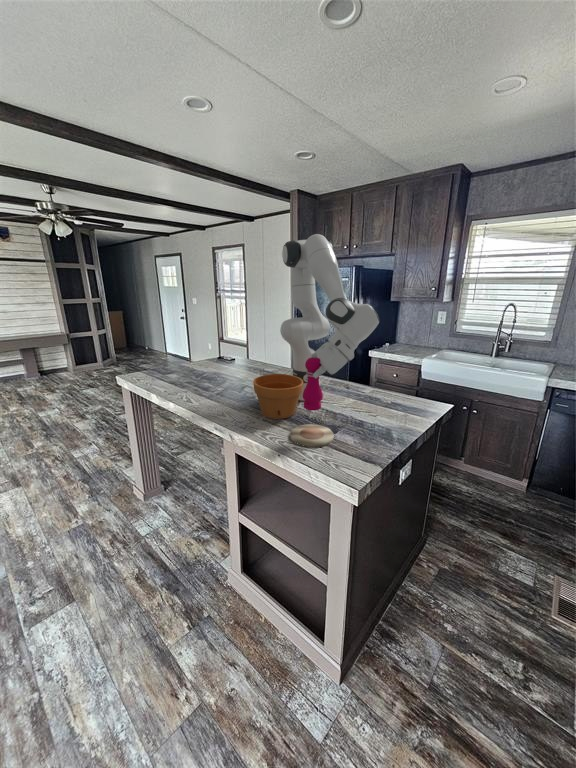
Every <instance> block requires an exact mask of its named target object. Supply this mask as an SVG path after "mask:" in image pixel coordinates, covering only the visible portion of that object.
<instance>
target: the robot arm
mask: <svg viewBox="0 0 576 768" xmlns="http://www.w3.org/2000/svg"><path fill="white" fill-rule="evenodd" d="M281 252H282V253H281V255H282V261H283V263H284V265H285V266H286V267H288V268H291V274H290V286H291V288H290V289H291V302H292V305H293V307H295V308H296V309H298V310H299V311H300V312H301V315H302V316H301V317H292V318H288V319H285V320H283V322H282V323H281V325H280V335H281V337H282V339H283V340H284V341H285V342H286V343H288V344H289V346H290V348H291V350H292V354H293V368H292V376H296V377H299V378H301V379H302V380H303V389H302V393H301V394H300V395H299V399H298V401H302V402H305V400H304V399H303V392H304V389H305V387H306V385H307V382H308V376H307V375H306V374H307V369H306V367H305V363H306V361H307V359H309V358H311V357H312V354H313V353H316V354H317V358H319V359H320V364H321V366H320V367H319V369H318V370H317V371H314V373H312V375H313V376H314V377H315V378H317V377H318V376H319V375H320V376H321V375H323V374H324V373H326V371H327V373H329V374H330V375H331V376H332V375H334V374H336V373H337V372H338V371H339V370H340V369H342V368H343V367H344V366H345V365H346V364H347V363H348V361H352V360H353V359H354V358H355V353H354V352H355V350H356V349H357V348H358V346H359V344H361V343H362V342H363V341H364V340H366V339H367V338H368V337H370V335H371V334H372V333H373V332H374V330H375V329H376V328H377V327H378V325H379V323H380V317H379V314H378V313H377V311H376V310H375V309H374V307H373V306H372V305H370V304H368V303H357V302H353V301H351V300H348V298H347V295H346V293H345V290H344V287H343V283H342V282H343V281H342V277H341V273H340V268H339V264H338V260H337V256H336V254H335V250H334V246H333V245H332V242H330V241H328V239H327V238H326V236H324V235H323V234H320V233H319V234H318V233H315V234H312V235H310V236H309V237H308V238H307V239H299V240H295V239H293V240H289V241H287V242H285V244H284V245H283V247H282V251H281ZM316 283H317V284H318V286H319V287H320V288H321V289H322V290H323V292H324V293H325V295H326V296H327V298H328V300H329V303H328V304H327V306H326V309H325V315H323V314H322V312H321V310H320V308H319V305H318V301H317V291H316ZM331 326H332V327H333V329H334V330H335V332H334V333H333V334H332V335H331V336H330V337H329V338H328V339H327V340H328V341H326V342H324V343H323V344H322V345H321V346H320V347H319V348H318V349H317V350H314V349H313V348H311V347H310V346H309V341H313V340H314V341H315V340H320V339H322V338H325V337H328V335H329V334H330V330H331ZM320 376H319V377H320ZM319 385H320V386H321V380H320V379H319Z"/></svg>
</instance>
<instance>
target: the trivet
mask: <svg viewBox="0 0 576 768" xmlns="http://www.w3.org/2000/svg"><path fill="white" fill-rule="evenodd" d="M289 433H290V434H289V435H290V436H291V437H290V440H291V439H292V440H293V441H294V442H293V441H292V440H291V441H292V442H293V443H295V442H296V443H298V444H300V445H299V446H301V445H304V446H303V447H305V446H309V447H308V448H320V446H322V447H325V446H327V445H330V444H332V442H333V441H334V437H335V436H334V432H333V431H332V429H330V428H329V427H326V426H324V425H320V424H310V423H309V424H308V423H307V424H300V425H298V426H296V427H294V428H293V429H292V430H291V431H290V432H289ZM296 443H295V444H296ZM298 444H297V445H298Z"/></svg>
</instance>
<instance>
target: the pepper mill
mask: <svg viewBox="0 0 576 768" xmlns="http://www.w3.org/2000/svg"><path fill="white" fill-rule="evenodd" d="M320 366H321V364H320V359H319V358H317V354H316V353H313V354H312V357H311V358H309V359H307V361H306V363H305V367H306V369H307V374H306V375H307V376H308V382H307V385H306V387H305V389H304V392H303V399H304V400H305V401H303V408H304V409H305V410H307V411H318V410H321V408H322V402H321V401H322V400H323V399H324V392H323V390H322V387H321V384H320V385H319V380H320V376H321V375H319V376H318V377H317V378H315V377H314V376H313V375H312V373H314V371H317V370H318V369H319V367H320Z"/></svg>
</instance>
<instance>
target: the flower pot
mask: <svg viewBox="0 0 576 768" xmlns="http://www.w3.org/2000/svg"><path fill="white" fill-rule="evenodd" d="M252 382H253V389H254V390H253V391H254V393H255V394H256V397H257V399H258V403H259V408H260V412H261V414H262V415H263V417H266V418H269V419H272V418H273V420H281V419H283V420H284V419H287V418H290V417H292V416H294V414H295V413H296V409H297V405H298V402H299V400H298V399H299V395H300V394H301V393H302V389H303V380H302V379H301V378H299V377H296V376H293V374H284V373H270V374H269V373H267V374H264V375H260V376H257V377H255V378H254V379H253V381H252Z"/></svg>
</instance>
